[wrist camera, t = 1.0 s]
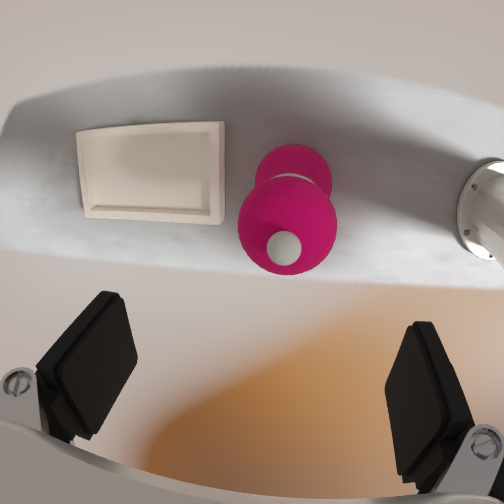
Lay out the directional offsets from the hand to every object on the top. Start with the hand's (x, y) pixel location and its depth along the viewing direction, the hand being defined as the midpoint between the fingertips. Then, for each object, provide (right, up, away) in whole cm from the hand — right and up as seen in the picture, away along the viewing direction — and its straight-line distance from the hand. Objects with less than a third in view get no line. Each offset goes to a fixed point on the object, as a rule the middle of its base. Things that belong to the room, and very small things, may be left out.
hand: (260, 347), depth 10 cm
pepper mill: (+4, +11, +24) cm, 27 cm away
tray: (-12, +13, +26) cm, 31 cm away
